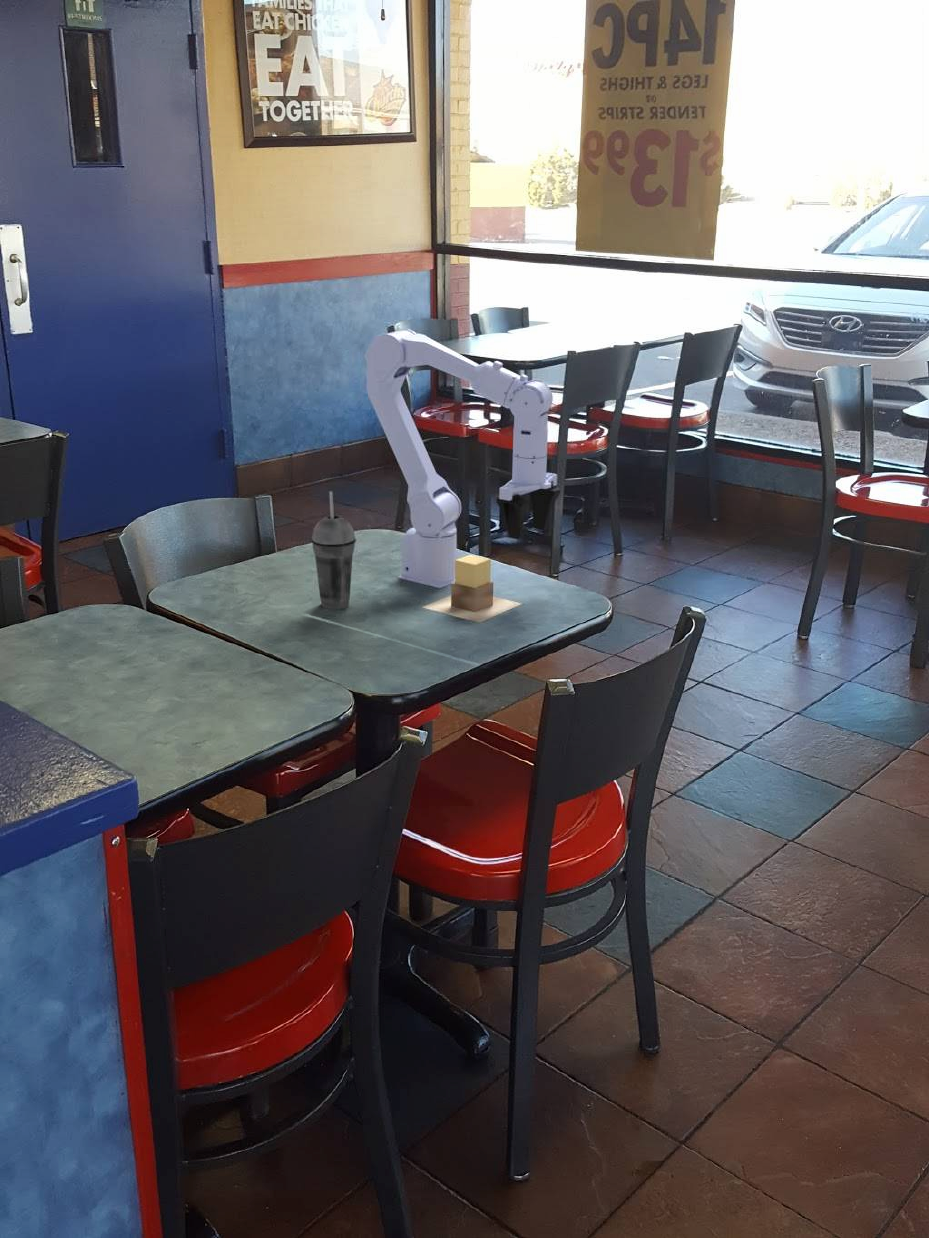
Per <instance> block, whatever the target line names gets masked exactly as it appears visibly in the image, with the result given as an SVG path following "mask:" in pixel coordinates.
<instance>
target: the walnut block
mask: <svg viewBox="0 0 929 1238" xmlns="http://www.w3.org/2000/svg"><path fill="white" fill-rule="evenodd" d="M450 586H451V587H450V589H451V590H450V591H451V592H450V595H451V606H452V607H456V608H460V609H464V610H468V611H472V612H477V611H480V610H482V609H484V608H487V607H489V606H491V605H493V597H494V581H491V580H490V582H489V583H487V584H485V585H482V586H480V587H477V588H472V587H468V586H464V585H460V584H456V583H455V582H453V583H451V584H450Z"/></svg>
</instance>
